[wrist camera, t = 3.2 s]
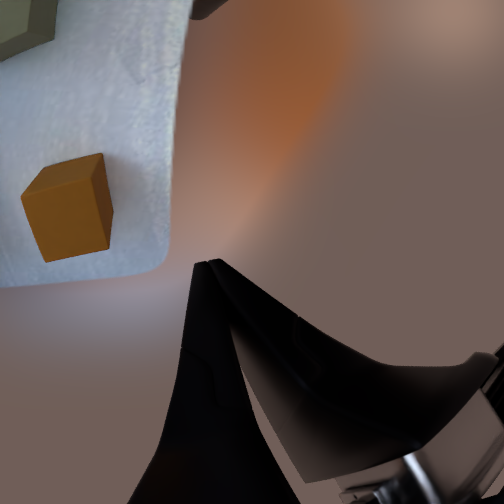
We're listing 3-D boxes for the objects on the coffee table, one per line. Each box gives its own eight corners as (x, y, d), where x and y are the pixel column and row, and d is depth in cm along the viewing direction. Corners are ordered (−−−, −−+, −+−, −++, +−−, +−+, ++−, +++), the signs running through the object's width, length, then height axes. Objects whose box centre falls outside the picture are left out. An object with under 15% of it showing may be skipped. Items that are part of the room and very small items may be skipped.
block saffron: (102, 151, 13) (91, 176, 10) (113, 212, 15) (109, 249, 12) (43, 167, 11) (19, 196, 9) (59, 224, 14) (44, 263, 11)
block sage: (61, -18, 5) (40, -39, 2) (54, 39, 7) (27, 31, 4) (2, 7, 4) (-29, -2, 1) (-3, 63, 6) (-39, 67, 3)
